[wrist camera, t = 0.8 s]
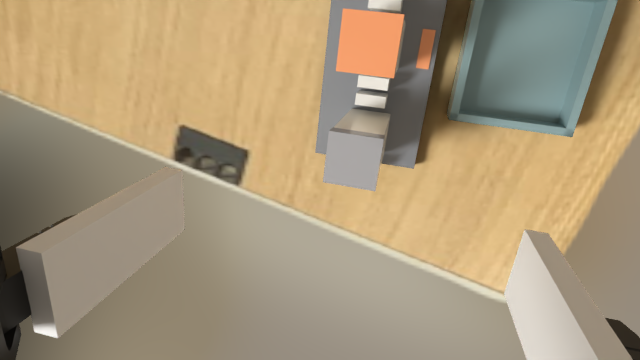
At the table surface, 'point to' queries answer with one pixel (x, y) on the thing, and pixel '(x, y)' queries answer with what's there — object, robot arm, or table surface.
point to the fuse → (356, 149)
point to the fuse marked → (370, 42)
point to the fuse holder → (381, 92)
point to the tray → (528, 63)
